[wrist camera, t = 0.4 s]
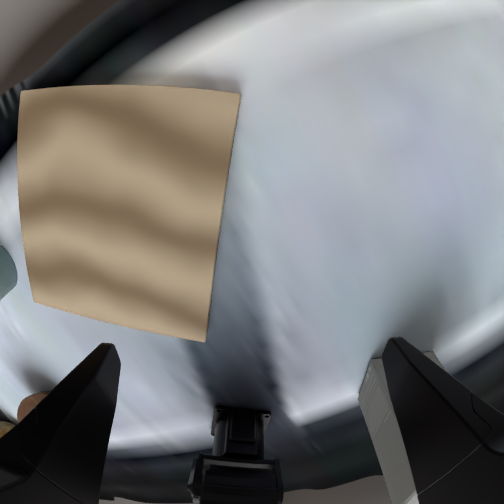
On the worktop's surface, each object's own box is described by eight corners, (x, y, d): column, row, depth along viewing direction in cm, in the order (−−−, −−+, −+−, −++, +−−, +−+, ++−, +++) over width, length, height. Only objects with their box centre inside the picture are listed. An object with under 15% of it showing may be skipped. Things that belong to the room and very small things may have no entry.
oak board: (207, 331, 28) (205, 342, 26) (41, 294, 27) (33, 301, 25) (241, 95, 19) (240, 93, 18) (31, 90, 18) (21, 91, 17)
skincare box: (355, 395, 32) (385, 517, 17) (371, 350, 29) (420, 489, 14) (418, 387, 32) (460, 493, 17) (439, 344, 29) (500, 458, 14)
